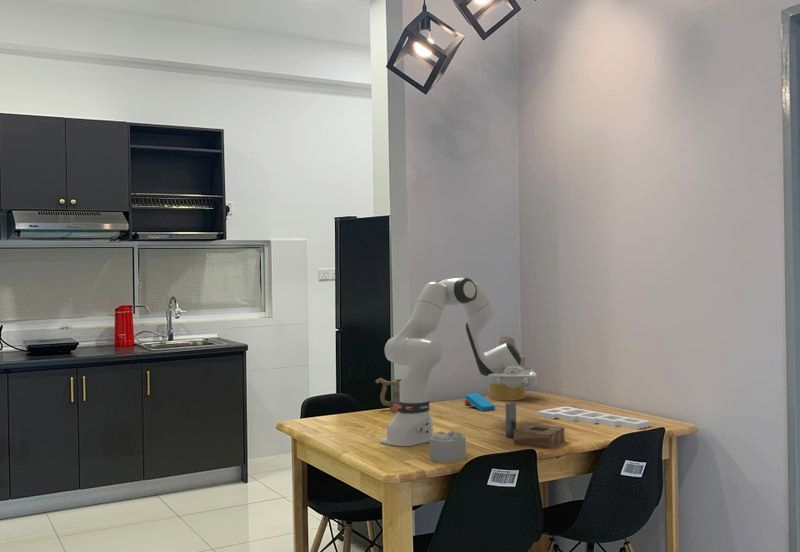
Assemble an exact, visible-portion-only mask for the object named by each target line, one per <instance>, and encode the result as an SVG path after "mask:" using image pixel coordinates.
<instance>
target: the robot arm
mask: <svg viewBox="0 0 800 552" xmlns="http://www.w3.org/2000/svg"><path fill="white" fill-rule="evenodd" d="M458 305H461V306H462V307H463V309H464V311H465V313H466V315H467V322H466V323H465V331H466V335H467V338H468V341H469V344H470V347H471V350H472V353H473V356H474V358H475V365H476V369H477V371H478V372H479V374H480V375H481V376H483V377H484V376H485V377H487V384H505V385H506V386H508V387H510V388H516V387H520V386H525V387H527V386H535V385H537V384H538V375H537V373H536V372H535V370H534V369H532V368H526V367H525V368H522V367H521V365H520V364H521V358H520V355H519V353H520V352H519V350H518V349H517V350H518V351H517V350H516V348H517V347H516V348H515V347H514V346H513V345H511V344H509V343H504V344H502V345H500V346H498V347H496V346H495V348H492V349H490V350H487V351H485V352H484V351H483V349H482V345H481V342H480V340H479V335H480V334H481V333H482V331H483V330H484V329H485V328H486V327H487V326H488V325H489V323H491V321H492V318H493V316H494V309H493V308H494V307H493V305H492V303H491V301H490V299H489V297H488V295H487V294H486V293H485V291H484V290H483V288H482V287H481V286H480V284H478V283H477V282H476V281H474V280H473V279H470V278H468V277H456V278H453V277H451V278H446V279H442V280H438V281H430V282H428V283H426V284H425V285H424V287H423V288H422V290H421V292H420V293H419V296H418V298H417V300H416V303H415V306H414V308H413V310H412V312H411V316H410V317H409V319H408V321H407V322H406V324H405V325H404V327H402V329H401V330H400V331H399V332H398V333H397V334H396V335H394V336H393V337H391V338H389V339H388V340H387V342H386V343H385V345H384V355H385V358H386V359H387V361H389V362H392V363H394V364H396V365H397V364H398V365H403V366H408V367H409V368H408V373H407V374H406V375H405V376H403V377H402V378H400V379H401V381H400V401H399V404H398V405H397V404H394V409H397V411H398V412H396V414H395V415H394V417H393V418H392V420H391V421H390V422H389V423H388V425H387V427H386V436H385V437H383V438H381V439H380V442H379V443H382V444H384V445H387V446H388V445H389V446H395V447H396V446H397V447H412V446H416V445H420V444H424V443H429V438H430V437H433V436H435V435H434V427H433V426H434V425H433V418H432V416H431V415H430V410H431V409H430V407H431V404H430V400H429V381H430V376H431V375H432V371H433V370H434V368H435V367H436V366H437V365H438V364H439V363H440V362H441V360H442V358H443V348H442V345H441V343H440V342H439V341H437V340H435V339H433V338H432V339H431V338H428V336H429V335H431V334H433V333H434V332H435V331H436V330H437V328H438V325H439V322H440V320H441V317H442V315H443V311H444V307H445V306H458ZM518 352H519V353H518ZM504 368H505V369H504ZM502 369H504V372H503V373H496V372H498V371H500V370H502Z"/></svg>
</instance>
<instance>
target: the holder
mask: <svg viewBox="0 0 800 552" xmlns="http://www.w3.org/2000/svg"><path fill="white" fill-rule="evenodd" d="M538 416H541V417H540V418H544V417H546V418H545V419H549V418H552V419H551V420H555V419H554V418H559V419H558V420H561V419H564V420H563V421H566V420H569V421H568V422H572V421H574V422H579V421H581V422H580V423H584V422H586V423H585V424H589V423H591V425H596V424H595V423H599V425H602V424H604V425H603V426H608V425H609V426H608V427H613V426H614V427H613V428H615V426H616V427H621V426H622V427H621V428H626V427H628V428H627V429H631V428H633V429H632V430H640V428H642V429H645V428H644V427H646V428H649V427H648V426H650V427H651V420H648V419H647V420H646V419H640V418H635V417H629V416H624V415H617V414H612V413H606V412H602V411H601V412H600V411H595V410H589V409H583V408H576V407H571V406H561V407H553V408H549V409H543V410H538V411H537V417H538Z"/></svg>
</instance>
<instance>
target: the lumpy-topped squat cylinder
mask: <svg viewBox="0 0 800 552" xmlns="http://www.w3.org/2000/svg"><path fill="white" fill-rule="evenodd" d="M428 443H429V445H428V447H429V450H428V451H429V460H430V461H433V462H434V461H435V462H439V463H442V464H450V463H456V462H459V461H463V460H465V459H466V457H467V443H466V435H464V434H463V433H461V432H460V431H454V430H451V431H448V432H444V431H438V432H437V433H436V434H435V435H434V436H433V437H430V438H429V442H428Z"/></svg>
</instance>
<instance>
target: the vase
mask: <svg viewBox="0 0 800 552" xmlns="http://www.w3.org/2000/svg"><path fill="white" fill-rule="evenodd" d="M504 343H509V344H511V345H513V346H514V347H515V348H516V350H517V351H518V353H519V355H520V358H521V364H520V365H521V367H522V368H525V369H526V367H525V366H526V364H525V363H526V362H525V360H526V359H525V355H523V354H521V353H520V352H519V350H518V348H517V346H516V342H515V338H514V337H513V336H499V337H498V336H497V341H496V344H495V345H496V346H495V348H496V347H498V346H500V345H502V344H504ZM504 369H505V368H504ZM504 369H502V370H500V371H498V372H496V373H503V372H504ZM487 384H488V383H487ZM487 389H488V399H490V400H493V401H500V402H501V401H502V402H508V401H509V402H512V401H513V400H515V401H522V400H524V398H525V399H526V386H520V387H516V388H510V387H508V386H506V385H505V384H488V385H487ZM521 399H522V400H521Z"/></svg>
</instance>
